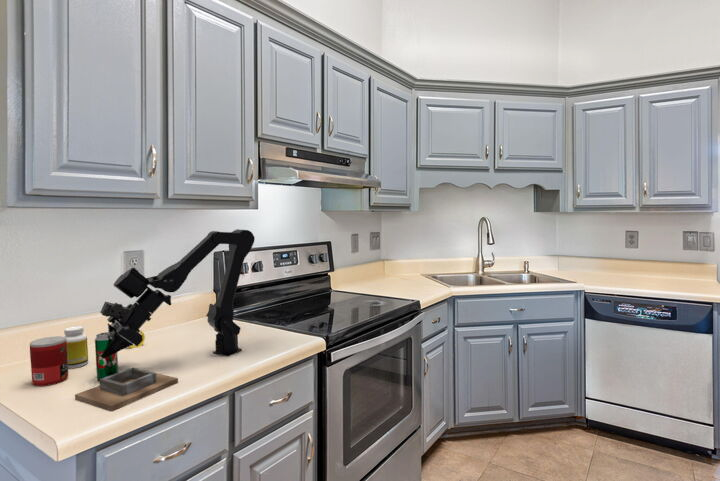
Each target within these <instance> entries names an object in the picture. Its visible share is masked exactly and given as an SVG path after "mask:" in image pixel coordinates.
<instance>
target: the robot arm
mask: <svg viewBox="0 0 720 481" xmlns="http://www.w3.org/2000/svg"><path fill="white" fill-rule="evenodd" d="M255 239H256V238H255V236H254V233H253V232H252V231H250V230H248V229H240V228H238V229H234V230H233V231H230V232H229V231H218V230H212V231H210V232H208V234H207V235H206V236H205V237H204V238H203V239H202V240H201V241H199V243H198V244H196V245H195V246H194V247H193V248H192V249H191V250H190V251H188V253H186V255H184V256H183V257H182V258H181V259H180V260H178V261H177V262H175V263H174V264H171V265H170V266H168V267H166V268H165V269H163V270H162V271H160V272H159V273H158V274H157V275H154V276H149V277H145V276H144V275H143V274H141V273H140V271H138V269H136V268H135V267H133V266H132V267H131V268H129V269H128V270H127V271H125V272H124V273H123V274H121V275H119V276H118V278H117V279H116V280H115V282H114V283H113V287H114V288H116V289H117V290H118V291H119V292H121V293H123V294H124V295H126V296H127V297H128V298H129V299H133V298H134V297H135V298H138V299H136V301H135V302H134V303H133V304H132V303H129V304H127V305H126V306H123V304H122V303H117V302H114V303H112V302H111V301H110V302H109V301H104V303H103V306H102V308H101V310H100V314H101V316H104V317H106V318H107V317H108V318H107V321H108V322H109V323H107V330H108V331H107V332H113V339H112V340H111V342H110V343H109V344H108V346H107V347H106V349H105V350H104V352H103V353H102V355H101V357H102V358H103V359H104V358H107V357H108V356H110V355H112V354H114V353H116V352H117V353H118V352H120V351H122V350H124V349H126V348H130V347H129V346H135V345H136V346H138V345H139V344H140V343H141V342H142V341H143V337H142V334H141V333H140V331H141V329H140V328H142V326H143V325H144V324H146V323H147V322H150V321H151V320H152V317H151V316H153V314H154V313H155V312H156V311H157V310H158V309H159V308H160V307H161V305H162V304H163V303H165V304H167V305H168V306H171V305H172V301H171V300H172V295H170V294H165V293H163V292H166V293H175V292H177V291H178V290H179V289H181V287H182V286H183V284H184V283H185V281H186V280H188V279H187V278H188V276H189V274H191V272H192V270H194V269H195V268H196V267H197V266H198V265H199V264H200V263H201V262H202V261H203V260H204V259H205V258H206V257H207V256H208V255H210V254H211V253H212V252H213V251H214V250H215V249H216V248H217V247H218V246H219V245H228V252H229V256H228V257H229V258H228V261H227V265H226V268H225V272H224V275H223V279H222V283H221V287H220V290H219V294H218V297H217V299H216V301H215V302H214V304H213V303H209V305H208V311H207V313H206V315H205V316H206V317H207V323H208V325H209V326H210V327H211V328H213V329H214V331H215V332H216V333H217V334H215V340H214V341H215V350H214V351H212V354H213V355H219V356H225V357H229V356H232V355H234V354H237V353H238V352H241V351H243V350H242V348H239V341H238V340H239V338H238V337H239V335H240V333H241V332H240V331H241V326H239V324H236V323H235V322H234V317H235V316H234V315H235V312H234V298H235V295H236V292H237V287H238V284H239V280H240V275H241V273H242V268H243V266H244V265H243V264H244V261H245V259H246V257H247V256H248V254H249V253H250V252H251V251H252V248H253V245H254V243H255ZM149 286H151V288H150V287H149ZM152 287H153V288H154V289H155V290H153V289H152ZM159 289H160V290H162V291H163V292H162V291H160V290H159ZM110 323H111V324H110ZM138 347H139V346H138Z"/></svg>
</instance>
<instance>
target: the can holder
mask: <svg viewBox="0 0 720 481" xmlns="http://www.w3.org/2000/svg"><path fill="white" fill-rule="evenodd" d="M98 382H99V385H97V386H94V387H91V388H89V389H86V390H84V391H80V392H78V393H75V394H74V398H75V400H76V401H79V402H82V403H86V404H88V405H91V406H94V407H97V408H101V409H105V410H107V411H111V412H113V411H116V410H118V409H120V408H123V407H125V406H127V404H128V405H130V404H132V403H135V402H137V401H139V400H141V399H143V397H144V398H146V397H149V396H151V395H153V394H155V393H158V392H159V391H160V392H161V391H162V390H165V389H167V388H169V387H171V386H174V385H176V384H178V383H179V378H178V377H174V376H170V375H167V374H162V373H158V372H154V371H149V370H145V369H141V368H136V367H130V368H128V369H125V370H122V371H118V373H116V374H113V375H111V376H108V377H105V378H102V379H98Z"/></svg>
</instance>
